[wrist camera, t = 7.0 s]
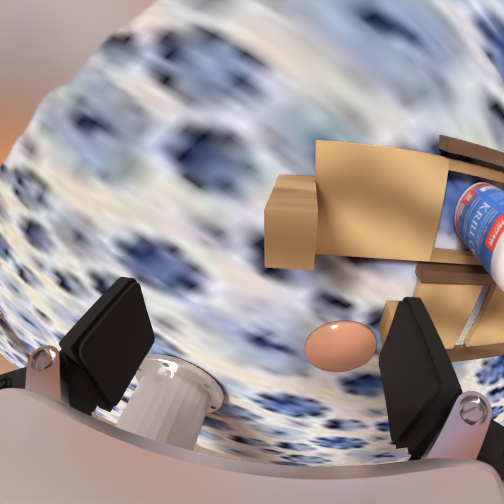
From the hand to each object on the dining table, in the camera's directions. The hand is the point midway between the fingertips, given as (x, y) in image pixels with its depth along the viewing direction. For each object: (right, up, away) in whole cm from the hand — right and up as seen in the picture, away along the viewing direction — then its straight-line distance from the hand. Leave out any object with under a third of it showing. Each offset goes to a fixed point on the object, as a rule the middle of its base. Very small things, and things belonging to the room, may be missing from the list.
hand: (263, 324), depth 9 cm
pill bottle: (+18, +6, +7) cm, 20 cm away
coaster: (+8, -7, +16) cm, 19 cm away
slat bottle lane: (+12, +6, +8) cm, 15 cm away
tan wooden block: (+16, -3, +12) cm, 20 cm away
